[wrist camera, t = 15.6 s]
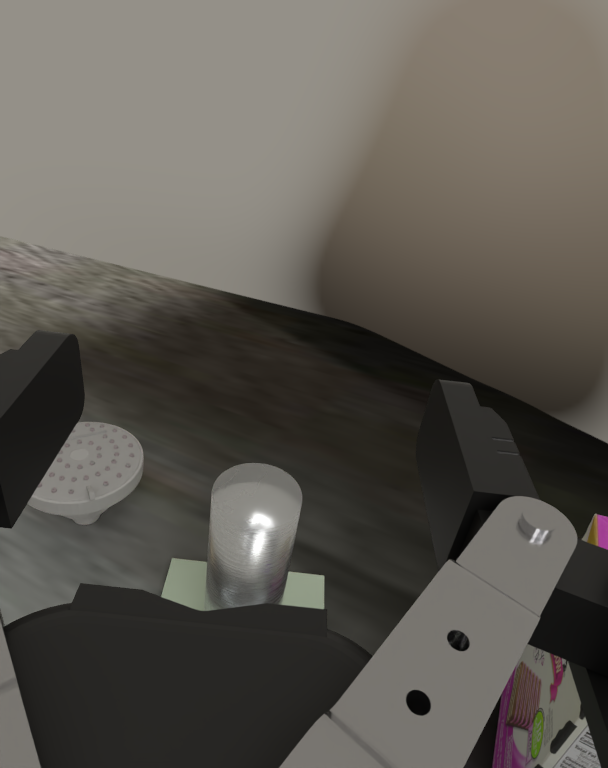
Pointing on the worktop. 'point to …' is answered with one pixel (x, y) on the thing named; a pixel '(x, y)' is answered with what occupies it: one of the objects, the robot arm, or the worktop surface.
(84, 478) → the showerhead
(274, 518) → the brushed metal cylinder
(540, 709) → the candy bar box
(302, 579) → the pad
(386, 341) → the worktop surface
